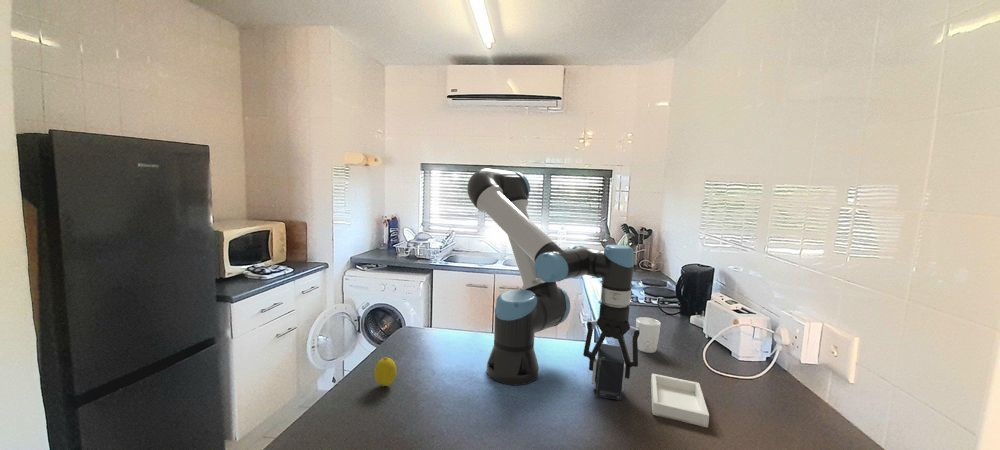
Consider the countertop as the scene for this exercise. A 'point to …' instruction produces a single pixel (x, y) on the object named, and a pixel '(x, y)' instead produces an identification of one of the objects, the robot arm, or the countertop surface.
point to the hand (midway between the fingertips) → (607, 384)
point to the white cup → (648, 334)
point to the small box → (609, 372)
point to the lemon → (385, 371)
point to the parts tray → (678, 400)
